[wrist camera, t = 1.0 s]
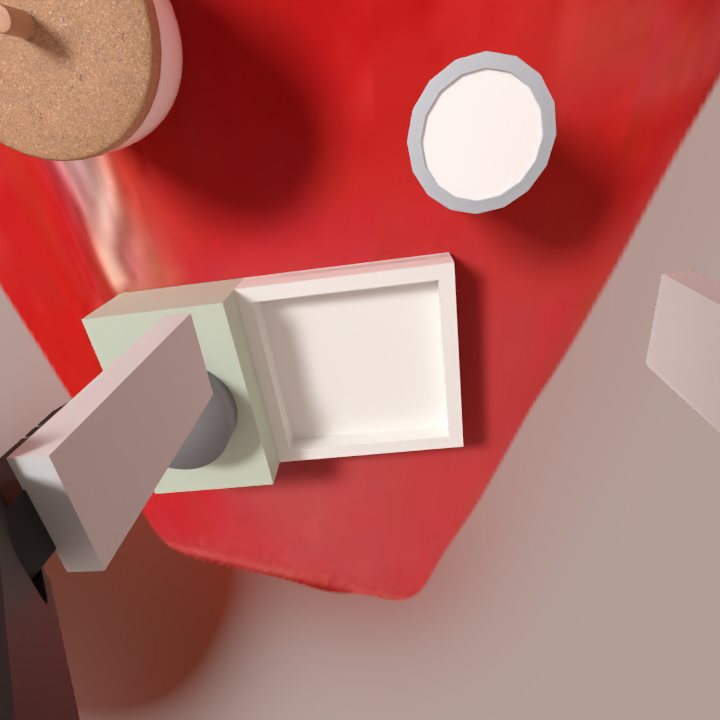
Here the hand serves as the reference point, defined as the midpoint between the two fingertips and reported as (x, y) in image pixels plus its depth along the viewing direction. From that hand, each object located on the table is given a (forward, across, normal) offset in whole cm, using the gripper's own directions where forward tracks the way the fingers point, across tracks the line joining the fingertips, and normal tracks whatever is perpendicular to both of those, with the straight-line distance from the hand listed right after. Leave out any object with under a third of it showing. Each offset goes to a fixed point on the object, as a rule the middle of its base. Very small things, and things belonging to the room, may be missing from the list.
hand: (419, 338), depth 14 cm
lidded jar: (+19, -15, +11) cm, 27 cm away
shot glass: (+19, +4, +4) cm, 20 cm away
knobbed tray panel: (+19, -8, -10) cm, 23 cm away
